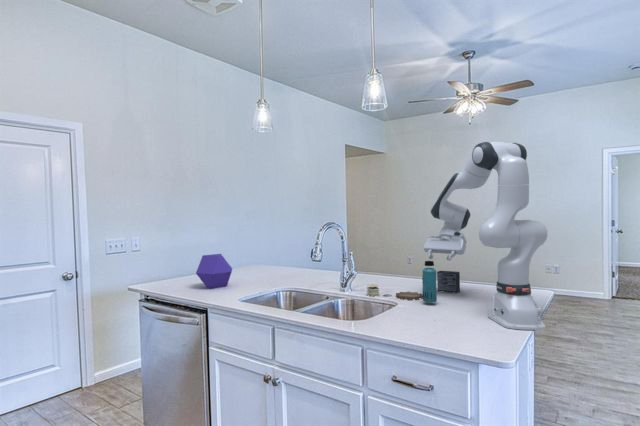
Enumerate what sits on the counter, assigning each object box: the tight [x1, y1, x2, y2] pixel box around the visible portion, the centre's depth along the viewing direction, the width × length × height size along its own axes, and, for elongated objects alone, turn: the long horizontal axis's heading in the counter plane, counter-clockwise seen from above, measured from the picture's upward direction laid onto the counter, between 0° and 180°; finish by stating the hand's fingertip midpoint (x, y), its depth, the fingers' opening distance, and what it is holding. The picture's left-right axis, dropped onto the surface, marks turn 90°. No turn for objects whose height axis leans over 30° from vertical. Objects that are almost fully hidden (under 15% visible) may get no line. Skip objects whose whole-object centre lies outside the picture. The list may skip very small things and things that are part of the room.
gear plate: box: [395, 291, 423, 301], centre depth 192 cm, size 13×13×2 cm
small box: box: [436, 270, 461, 294], centre depth 205 cm, size 11×6×10 cm, turn 58°
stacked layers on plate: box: [366, 283, 380, 298], centre depth 198 cm, size 10×9×6 cm
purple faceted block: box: [195, 253, 233, 290], centre depth 227 cm, size 22×20×20 cm
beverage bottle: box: [421, 260, 438, 303], centre depth 178 cm, size 6×7×20 cm
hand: (439, 258), depth 185 cm, fingers open, 8 cm apart
